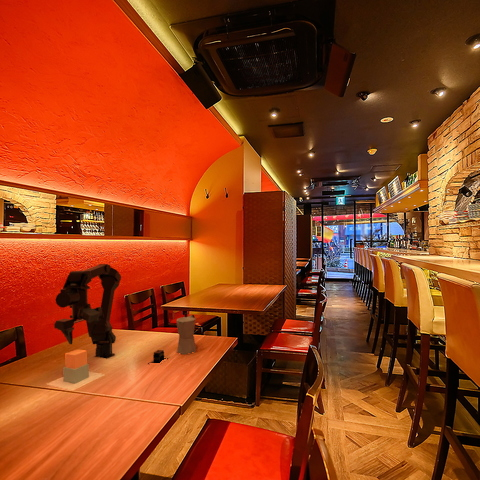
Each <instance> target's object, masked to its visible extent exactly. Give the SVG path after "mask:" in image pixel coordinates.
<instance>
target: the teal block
mask: <svg viewBox="0 0 480 480" xmlns="http://www.w3.org/2000/svg"><path fill="white" fill-rule="evenodd" d="M89 365H90V364H89V363H87V364H86V365H84V366H81V367H79V368H77V369H72V368H67V367H66V366H63V369H62V370H63V371H62V374H63V375H62V377H63V381H64V382H69V383H73V384H76V383H78V382H80V381H82V380H84V379H86V378H88V377H89V371H90V366H89Z"/></svg>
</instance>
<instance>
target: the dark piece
mask: <svg viewBox="0 0 480 480" xmlns="http://www.w3.org/2000/svg"><path fill="white" fill-rule="evenodd" d="M164 357H165V351H164V349H157V350H155V351H154V352H153V356H152V358H153V360H151V361H152V362H151V361H150V362H151V363H160V362H161V361H162V360H164V359H166V358H164Z"/></svg>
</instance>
